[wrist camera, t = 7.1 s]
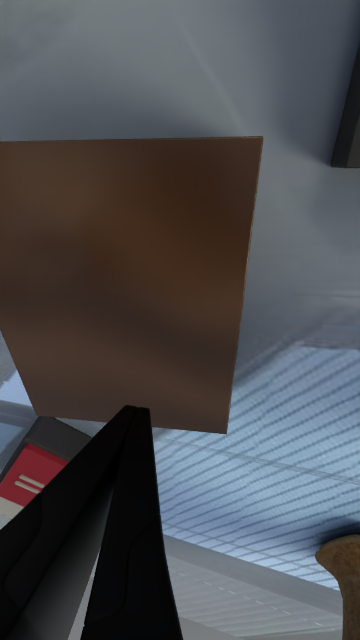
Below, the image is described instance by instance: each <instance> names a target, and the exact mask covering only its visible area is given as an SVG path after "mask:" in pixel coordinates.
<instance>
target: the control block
mask: <svg viewBox="0 0 360 640" xmlns="http://www.w3.org/2000/svg"><path fill="white" fill-rule="evenodd" d="M331 167H338V168H360V44H359V48H358V52H357V57H356V61H355V65H354V69H353V73H352V77H351V82H350V86H349V90H348V94H347V98H346V103H345V107H344V111H343V115H342V119H341V123H340V128H339V132H338V136H337V140H336V144H335V149H334V153H333V157H332V161H331Z"/></svg>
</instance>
